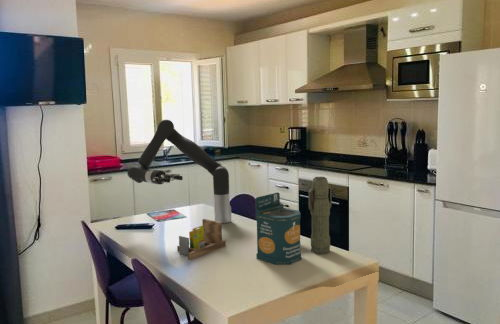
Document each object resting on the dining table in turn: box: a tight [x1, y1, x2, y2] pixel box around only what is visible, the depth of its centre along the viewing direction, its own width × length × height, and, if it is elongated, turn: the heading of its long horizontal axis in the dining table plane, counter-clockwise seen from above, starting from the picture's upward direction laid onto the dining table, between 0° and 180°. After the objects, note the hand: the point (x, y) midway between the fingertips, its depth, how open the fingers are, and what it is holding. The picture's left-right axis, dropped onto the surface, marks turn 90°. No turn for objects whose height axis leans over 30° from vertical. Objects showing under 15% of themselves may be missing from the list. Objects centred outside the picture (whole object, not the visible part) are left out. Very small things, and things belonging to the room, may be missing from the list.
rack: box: [176, 218, 227, 261], centre depth 206 cm, size 14×24×12 cm, turn 142°
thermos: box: [307, 176, 333, 255], centre depth 198 cm, size 9×12×35 cm
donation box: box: [254, 192, 302, 266], centre depth 191 cm, size 16×16×28 cm
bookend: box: [178, 235, 190, 258], centre depth 199 cm, size 6×4×9 cm, turn 52°
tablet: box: [146, 209, 187, 223], centre depth 277 cm, size 19×25×1 cm
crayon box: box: [188, 225, 205, 249], centre depth 206 cm, size 7×3×12 cm, turn 141°
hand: (175, 179), depth 220 cm, fingers open, 8 cm apart
